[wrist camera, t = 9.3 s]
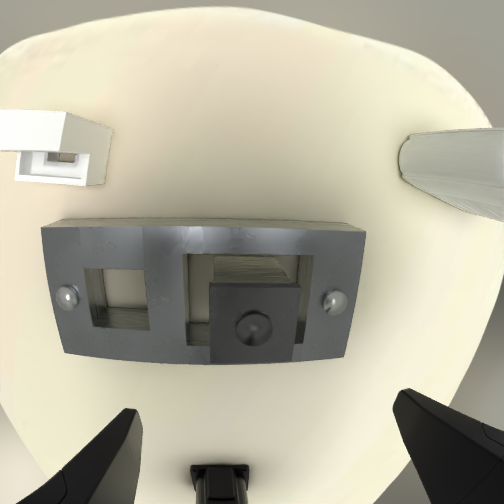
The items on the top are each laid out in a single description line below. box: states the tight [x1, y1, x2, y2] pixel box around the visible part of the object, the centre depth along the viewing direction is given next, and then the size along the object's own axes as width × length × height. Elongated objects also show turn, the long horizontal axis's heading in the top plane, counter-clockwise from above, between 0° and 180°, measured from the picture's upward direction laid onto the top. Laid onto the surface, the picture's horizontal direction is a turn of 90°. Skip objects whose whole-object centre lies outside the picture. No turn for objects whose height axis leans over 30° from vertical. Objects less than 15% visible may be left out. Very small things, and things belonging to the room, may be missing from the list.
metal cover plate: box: [41, 218, 366, 365], centre depth 18 cm, size 9×20×3 cm, turn 87°
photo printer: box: [399, 128, 504, 222], centre depth 14 cm, size 10×4×12 cm, turn 76°
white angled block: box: [0, 110, 113, 186], centre depth 13 cm, size 4×10×9 cm, turn 80°
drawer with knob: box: [209, 256, 302, 363], centre depth 17 cm, size 4×4×6 cm
